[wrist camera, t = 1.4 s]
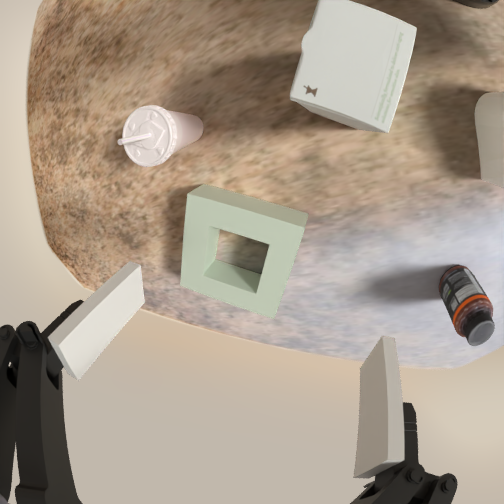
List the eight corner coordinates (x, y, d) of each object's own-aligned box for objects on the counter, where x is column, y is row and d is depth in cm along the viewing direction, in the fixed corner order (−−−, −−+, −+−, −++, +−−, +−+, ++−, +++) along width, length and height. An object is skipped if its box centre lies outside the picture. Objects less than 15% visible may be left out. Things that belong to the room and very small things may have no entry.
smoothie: (217, 147, 32) (151, 171, 20) (174, 156, 34) (100, 184, 22) (208, 99, 29) (136, 97, 17) (165, 111, 31) (86, 120, 19)
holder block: (203, 183, 35) (187, 193, 31) (308, 213, 33) (305, 227, 29) (193, 269, 42) (180, 285, 38) (280, 299, 40) (273, 319, 36)
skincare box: (360, 131, 26) (389, 143, 13) (304, 110, 27) (282, 103, 14) (380, 67, 22) (423, 27, 9) (324, 47, 23) (317, -11, 9)
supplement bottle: (470, 292, 31) (495, 344, 21) (437, 302, 33) (457, 358, 23) (471, 259, 28) (505, 309, 19) (437, 268, 31) (463, 323, 21)
